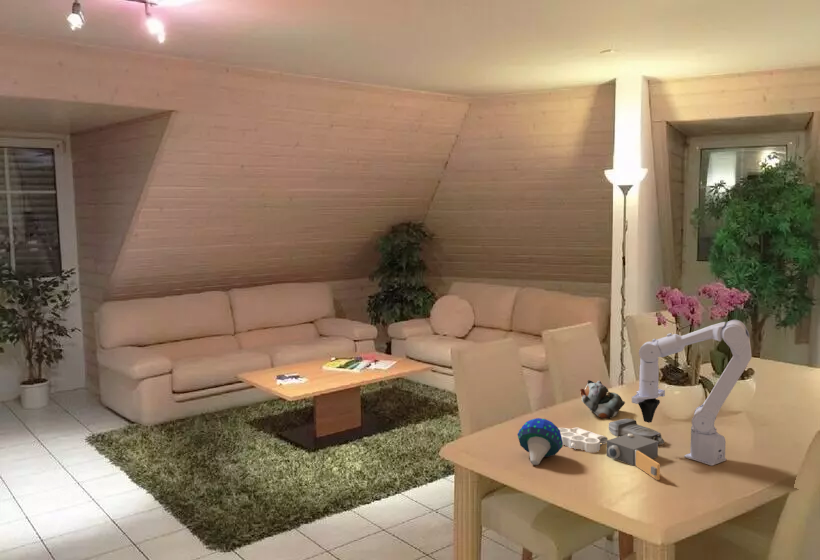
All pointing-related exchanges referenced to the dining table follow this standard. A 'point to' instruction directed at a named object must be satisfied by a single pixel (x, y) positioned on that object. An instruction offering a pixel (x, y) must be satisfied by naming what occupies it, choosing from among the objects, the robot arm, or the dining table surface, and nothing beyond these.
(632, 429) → the handheld device
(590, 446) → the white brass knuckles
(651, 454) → the grey box with knob
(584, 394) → the lucky cat figurine
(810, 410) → the dining table surface
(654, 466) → the side door
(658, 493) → the dining table surface
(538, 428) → the mushroom
